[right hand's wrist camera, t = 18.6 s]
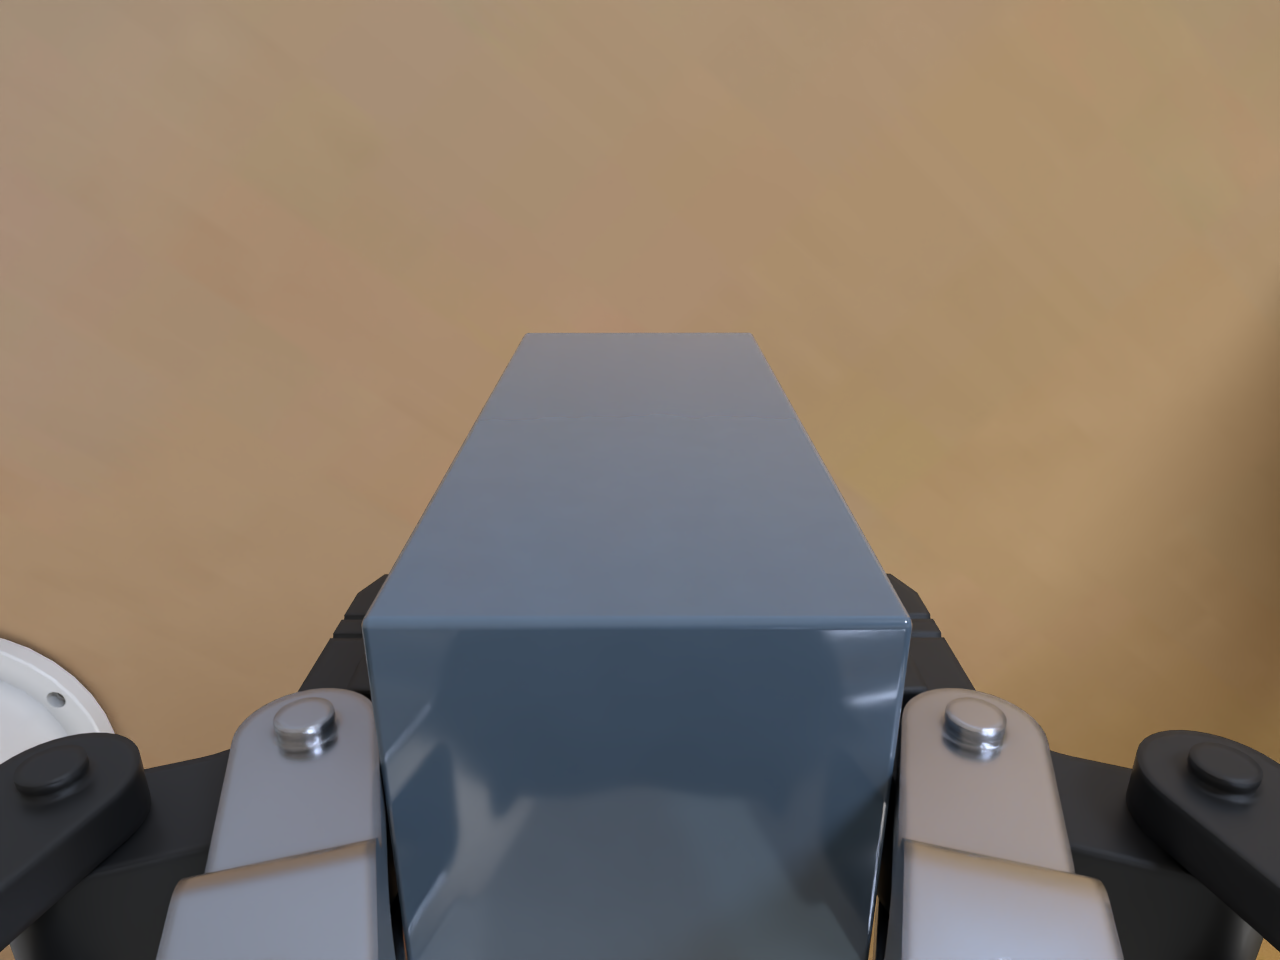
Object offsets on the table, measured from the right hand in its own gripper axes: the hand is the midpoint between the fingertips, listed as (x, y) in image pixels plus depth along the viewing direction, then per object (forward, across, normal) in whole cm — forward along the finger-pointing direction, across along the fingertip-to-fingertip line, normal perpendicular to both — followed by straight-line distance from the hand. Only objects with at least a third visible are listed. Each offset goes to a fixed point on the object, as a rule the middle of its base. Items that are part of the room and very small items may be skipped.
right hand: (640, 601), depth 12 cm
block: (+5, 0, 0) cm, 5 cm away
